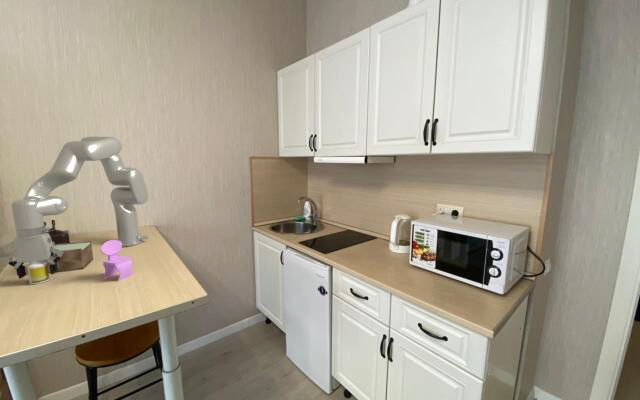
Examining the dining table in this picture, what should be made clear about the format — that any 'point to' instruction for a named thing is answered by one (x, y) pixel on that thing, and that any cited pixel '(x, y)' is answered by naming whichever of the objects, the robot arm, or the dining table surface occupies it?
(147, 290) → the dining table surface
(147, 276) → the dining table surface
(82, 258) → the box
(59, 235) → the brown manual coffee grinder
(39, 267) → the supplement bottle
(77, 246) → the lid
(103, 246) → the toy chair
